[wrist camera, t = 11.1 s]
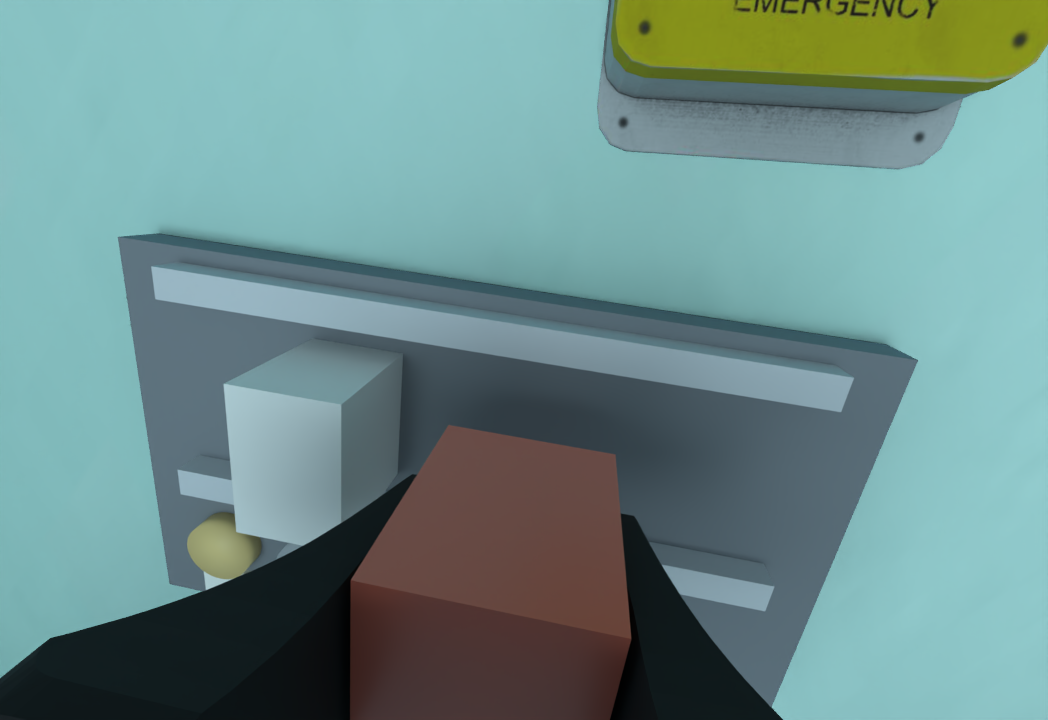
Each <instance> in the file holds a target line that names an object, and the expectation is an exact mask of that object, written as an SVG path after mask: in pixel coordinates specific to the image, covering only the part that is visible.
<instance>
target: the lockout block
mask: <svg viewBox="0 0 1048 720" xmlns="http://www.w3.org/2000/svg"><path fill="white" fill-rule="evenodd" d="M630 642H631V629H630V617H629V606H628V594H627V583H626V571H625V559H624V548H623V536H622V525H621V513H620V502H619V490H618V478H617V467H616V455H615V454H610V453H604V452H599V451H593V450H587V449H582V448H576V447H570V446H565V445H559V444H553V443H548V442H542V441H537V440H531V439H525V438H520V437H514V436H508V435H503V434H497V433H491V432H486V431H480V430H474V429H469V428H463V427H458V426H452V425H448V427H447V428H446V430H445V431H444V433H443V435H442V436H441V438H440V439H439V441H438V443H437V444H436V446H435V447H434V449H433V450H432V452H431V454H430V455H429V457H428V458H427V460H426V462H425V463H424V465H423V466H422V468H421V469H420V471H419V473H418V474H417V476H416V477H415V479H414V481H413V482H412V484H411V485H410V487H409V488H408V490H407V492H406V493H405V495H404V496H403V498H402V500H401V501H400V503H399V504H398V506H397V507H396V509H395V511H394V512H393V514H392V515H391V517H390V519H389V520H388V522H387V523H386V525H385V527H384V528H383V530H382V531H381V533H380V534H379V536H378V538H377V539H376V541H375V542H374V544H373V546H372V547H371V549H370V550H369V552H368V553H367V555H366V557H365V558H364V560H363V561H362V563H361V565H360V566H359V568H358V569H357V571H356V572H355V574H354V576H353V577H352V579H351V608H350V720H610V717H611V714H612V710H613V706H614V702H615V699H616V695H617V691H618V687H619V684H620V680H621V676H622V672H623V669H624V665H625V661H626V657H627V653H628V650H629V646H630Z"/></svg>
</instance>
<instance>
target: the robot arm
mask: <svg viewBox="0 0 1048 720" xmlns="http://www.w3.org/2000/svg"><path fill="white" fill-rule="evenodd" d="M416 476H417V475H416V474H412V475H410V476H409V477H407V478H406V479H404V480H403V481H401V482H400V483H398V484H397V485H396V486H394V487H393V488H391V489H390V490H389V491H387V492H386V493H384V494H383V495H382V496H380V497H379V498H377V499H376V500H375V501H373V502H372V503H370V504H369V505H367V506H366V507H364V508H363V509H361V510H360V511H358V512H357V513H356V514H354V515H353V516H351V517H350V518H348V519H347V520H345V521H343V522H342V523H340V524H339V525H337V526H335V527H334V528H332V529H330V530H329V531H327V532H326V533H324V534H322V535H321V536H319V537H317V538H316V539H314V540H312V541H311V542H309V543H307V544H305V545H303V546H301V547H300V548H298V549H296V550H294V551H292V552H290V553H288V554H286V555H284V556H282V557H280V558H278V559H276V560H274V561H272V562H270V563H268V564H266V565H264V566H262V567H260V568H257V569H255V570H253V571H250V572H248V573H246V574H243V575H241V576H239V577H236V578H234V579H231V580H229V581H227V582H224V583H222V584H220V585H217V586H215V587H213V588H210V589H208V590H205V591H202V592H200V593H197V594H194V595H191V596H189V597H186V598H183V599H181V600H178V601H175V602H172V603H169V604H166V605H163V606H160V607H157V608H154V609H151V610H148V611H145V612H142V613H139V614H136V615H132V616H129V617H126V618H122V619H119V620H115V621H112V622H108V623H104V624H101V625H97V626H94V627H90V628H87V629H83V630H80V631H76V632H72V633H69V634H65V635H61V636H57V637H53V638H50V639H49V640H47V641H46V642H45V643H44V644H42V645H41V646H40V647H38V648H37V649H36V650H35V651H33V652H32V653H31V654H30V655H29V656H27V657H26V658H25V659H24V660H22V661H21V662H20V663H19V664H17V665H16V666H15V667H14V668H13V669H11V670H10V671H9V672H8V673H6V674H5V675H4V676H3V677H1V678H0V720H350V608H351V579H352V577H353V576H354V574H355V572H356V571H357V569H358V568H359V566H360V565H361V563H362V561H363V560H364V558H365V557H366V555H367V553H368V552H369V550H370V549H371V547H372V546H373V544H374V542H375V541H376V539H377V538H378V536H379V534H380V533H381V531H382V530H383V528H384V527H385V525H386V523H387V522H388V520H389V519H390V517H391V515H392V514H393V512H394V511H395V509H396V507H397V506H398V504H399V503H400V501H401V500H402V498H403V496H404V495H405V493H406V492H407V490H408V488H409V487H410V485H411V484H412V482H413V481H414V479H415V477H416ZM621 525H622V536H623V548H624V559H625V571H626V583H627V594H628V606H629V617H630V629H631V642H630V646H629V650H628V653H627V657H626V661H625V665H624V669H623V672H622V676H621V680H620V684H619V687H618V691H617V695H616V699H615V702H614V706H613V710H612V714H611V717H610V720H783V719H782V718H781V717H780V716H779V715H778V714H777V713H776V712H775V711H774V710H773V709H772V708H771V707H770V706H769V704H768V703H767V702H766V701H765V700H764V699H763V698H762V697H761V696H760V695H759V694H758V693H757V692H756V691H755V690H754V688H753V687H752V686H751V685H750V684H749V683H748V682H747V681H746V680H745V679H744V677H743V676H742V675H741V674H740V673H739V672H738V671H737V669H736V668H735V667H734V666H733V665H732V664H731V662H730V661H729V660H728V659H727V657H726V656H725V655H724V654H723V653H722V651H721V650H720V649H719V648H718V646H717V645H716V644H715V643H714V642H713V640H712V639H711V638H710V636H709V635H708V634H707V632H706V631H705V630H704V628H703V627H702V626H701V624H700V623H699V621H698V620H697V619H696V617H695V616H694V614H693V613H692V611H691V610H690V609H689V607H688V606H687V604H686V603H685V601H684V600H683V598H682V597H681V595H680V594H679V592H678V590H677V589H676V587H675V586H674V584H673V582H672V581H671V579H670V578H669V576H668V574H667V573H666V571H665V570H664V568H663V566H662V565H661V563H660V561H659V559H658V558H657V556H656V554H655V552H654V551H653V549H652V547H651V545H650V543H649V541H648V540H647V538H646V536H645V534H644V532H643V530H642V528H641V526H640V524H639V523H638V521H637V519H636V518H635V516H632V515H627V514H622V513H621Z"/></svg>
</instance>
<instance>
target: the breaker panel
mask: <svg viewBox="0 0 1048 720" xmlns="http://www.w3.org/2000/svg"><path fill="white" fill-rule="evenodd" d="M118 241H119V247H120V254H121V261H122V268H123V274H124V281H125V288H126V294H127V301H128V308H129V314H130V321H131V328H132V335H133V341H134V348H135V355H136V361H137V368H138V375H139V382H140V388H141V395H142V402H143V408H144V415H145V422H146V428H147V435H148V442H149V449H150V455H151V462H152V469H153V475H154V482H155V489H156V496H157V502H158V509H159V516H160V522H161V529H162V536H163V542H164V549H165V556H166V563H167V569H168V576H169V583H170V584H172V585H177V586H181V587H186V588H191V589H195V590H200V591H205V590H208V589H210V588H213V587H215V586H217V585H220V584H222V583H224V582H227V581H229V580H231V579H234V578H236V577H239V576H241V575H243V574H246V573H248V572H250V571H253V570H255V569H257V568H260V567H262V566H264V565H266V564H268V563H270V562H272V561H274V560H276V559H278V558H280V557H282V556H284V555H286V554H288V553H290V552H292V551H294V550H296V549H298V548H300V547H301V546H302V545H297V544H292V543H287V542H282V541H277V540H273V539H268V538H263V537H258V536H253V535H248V534H243V533H238V532H236V522H235V511H234V499H233V488H232V476H231V465H230V453H229V442H228V430H227V418H226V407H225V395H224V383H226V382H228V381H230V380H232V379H234V378H236V377H238V376H240V375H242V374H244V373H246V372H248V371H250V370H252V369H254V368H256V367H258V366H260V365H262V364H263V363H265V362H267V361H269V360H271V359H273V358H275V357H277V356H279V355H281V354H283V353H285V352H287V351H289V350H291V349H293V348H295V347H297V346H299V345H301V344H303V343H305V342H307V341H309V340H311V339H319V340H324V341H330V342H336V343H342V344H348V345H354V346H360V347H366V348H372V349H378V350H384V351H390V352H396V353H402V354H403V366H402V388H401V409H400V431H399V453H398V474H397V475H396V476H395V478H394V479H393V481H392V482H391V484H390V485H389V486H388V488H387V489H386V491H385V492H384V493H386V492H387V491H389V490H390V489H391V488H393V487H394V486H396V485H397V484H398V483H400V482H401V481H403V480H404V479H406V478H407V477H409V476H410V475H412V474H416V475H417V474H418V473H419V471H420V469H421V468H422V466H423V465H424V463H425V462H426V460H427V458H428V457H429V455H430V454H431V452H432V450H433V449H434V447H435V446H436V444H437V443H438V441H439V439H440V438H441V436H442V435H443V433H444V431H445V430H446V428H447V427H448V425H452V426H458V427H463V428H469V429H474V430H480V431H486V432H491V433H497V434H503V435H508V436H514V437H520V438H525V439H531V440H537V441H542V442H548V443H553V444H559V445H565V446H570V447H576V448H582V449H587V450H593V451H599V452H604V453H610V454H615V455H616V467H617V478H618V490H619V502H620V513H622V514H627V515H632V516H635V518H636V519H637V521H638V523H639V524H640V526H641V528H642V530H643V532H644V534H645V536H646V538H647V540H648V541H649V543H650V545H651V547H652V549H653V551H654V552H655V554H656V556H657V558H658V559H659V561H660V563H661V565H662V566H663V568H664V570H665V571H666V573H667V574H668V576H669V578H670V579H671V581H672V582H673V584H674V586H675V587H676V589H677V590H678V592H679V594H680V595H681V597H682V598H683V600H684V601H685V603H686V604H687V606H688V607H689V609H690V610H691V611H692V613H693V614H694V616H695V617H696V619H697V620H698V621H699V623H700V624H701V626H702V627H703V628H704V630H705V631H706V632H707V634H708V635H709V636H710V638H711V639H712V640H713V642H714V643H715V644H716V645H717V646H718V648H719V649H720V650H721V651H722V653H723V654H724V655H725V656H726V657H727V659H728V660H729V661H730V662H731V664H732V665H733V666H734V667H735V668H736V669H737V671H738V672H739V673H740V674H741V675H742V676H743V677H744V679H745V680H746V681H747V682H748V683H749V684H750V685H751V686H752V687H753V688H754V690H755V691H756V692H757V693H758V694H759V695H760V696H761V697H762V698H763V699H764V700H765V701H766V702H767V703H768V704H769V706H770V707H772V704H773V702H774V700H775V697H776V695H777V692H778V690H779V688H780V685H781V683H782V681H783V678H784V676H785V674H786V671H787V669H788V666H789V664H790V662H791V659H792V657H793V655H794V652H795V650H796V647H797V645H798V643H799V640H800V638H801V636H802V633H803V631H804V629H805V626H806V624H807V621H808V619H809V617H810V614H811V612H812V610H813V607H814V605H815V603H816V600H817V598H818V595H819V593H820V591H821V588H822V586H823V584H824V581H825V579H826V577H827V574H828V572H829V569H830V567H831V565H832V562H833V560H834V558H835V555H836V553H837V551H838V548H839V546H840V543H841V541H842V539H843V536H844V534H845V532H846V529H847V527H848V524H849V522H850V520H851V517H852V515H853V513H854V510H855V508H856V506H857V503H858V501H859V498H860V496H861V494H862V491H863V489H864V487H865V484H866V482H867V480H868V477H869V475H870V472H871V470H872V468H873V465H874V463H875V461H876V458H877V456H878V454H879V451H880V449H881V446H882V444H883V442H884V439H885V437H886V435H887V432H888V430H889V428H890V425H891V423H892V420H893V418H894V416H895V413H896V411H897V409H898V406H899V404H900V402H901V399H902V397H903V394H904V392H905V390H906V387H907V385H908V383H909V380H910V378H911V375H912V373H913V371H914V368H915V366H916V364H917V361H918V360H916V359H914V358H912V357H910V356H908V355H906V354H904V353H902V352H900V351H898V350H896V349H894V348H892V347H890V346H888V345H886V344H879V343H873V342H866V341H860V340H853V339H847V338H840V337H833V336H827V335H820V334H814V333H807V332H801V331H794V330H788V329H781V328H774V327H768V326H761V325H755V324H748V323H742V322H735V321H728V320H722V319H715V318H709V317H702V316H696V315H689V314H682V313H676V312H669V311H663V310H656V309H650V308H643V307H637V306H630V305H623V304H617V303H610V302H604V301H597V300H591V299H584V298H577V297H571V296H564V295H558V294H551V293H545V292H538V291H532V290H525V289H518V288H512V287H505V286H499V285H492V284H486V283H479V282H472V281H466V280H459V279H453V278H446V277H440V276H433V275H426V274H420V273H413V272H407V271H400V270H394V269H387V268H381V267H374V266H367V265H361V264H354V263H348V262H341V261H335V260H328V259H321V258H315V257H308V256H302V255H295V254H289V253H282V252H276V251H269V250H262V249H256V248H249V247H243V246H236V245H230V244H223V243H216V242H210V241H203V240H197V239H190V238H184V237H177V236H170V235H164V234H147V235H135V236H123V237H118ZM384 493H383V494H384Z"/></svg>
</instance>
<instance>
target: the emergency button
mask: <svg viewBox="0 0 1048 720" xmlns="http://www.w3.org/2000/svg"><path fill="white" fill-rule="evenodd" d="M1047 45H1048V0H609V5H608V14H607V23H606V32H605V41H604V50H603V60H602V69H601V78H600V87H599V96H598V105H597V108H598V118H599V128H600V130H601V131H602V133H603V135H604V136H605V138H606V139H607V141H608V142H609V144H610V145H612V146H615V147H617V148H619V149H622V150H624V151H631V152H646V153H661V154H676V155H692V156H707V157H722V158H737V159H752V160H767V161H782V162H797V163H812V164H827V165H842V166H857V167H872V168H887V169H902V168H906V167H911V166H915V165H920V164H922V163H924V162H925V161H926V160H927V159H929V158H930V157H931V156H932V155H934V154H935V153H936V152H937V151H939V150H940V149H941V148H942V146H943V144H944V142H945V140H946V139H947V137H948V135H949V133H950V132H951V130H952V128H953V126H954V123H955V120H956V117H957V114H958V111H959V108H960V105H961V102H962V99H963V98H965V97H967V96H969V95H972V94H974V93H977V92H979V91H985V90H990V89H991V88H993V87H995V86H997V85H999V84H1001V83H1003V82H1005V81H1007V80H1009V79H1011V78H1013V77H1015V76H1016V75H1018V74H1019V73H1021V72H1022V71H1024V70H1025V69H1027V68H1028V67H1029V66H1031V65H1032V64H1034V63H1035V62H1036V61H1037V60H1038V58H1039V57H1040V55H1041V54H1042V52H1043V51H1044V49H1045V48H1046V46H1047Z"/></svg>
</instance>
